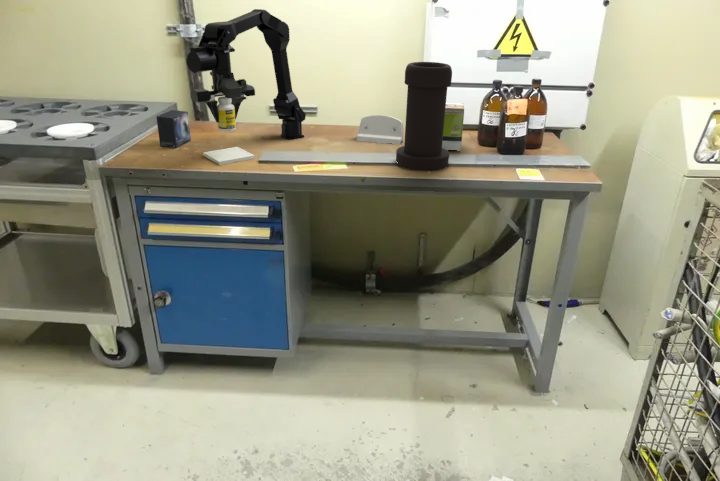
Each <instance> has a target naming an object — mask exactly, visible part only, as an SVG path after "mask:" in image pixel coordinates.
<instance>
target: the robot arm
mask: <svg viewBox="0 0 720 481" xmlns="http://www.w3.org/2000/svg"><path fill="white" fill-rule="evenodd" d="M253 28H257V30H258V31H260V32H261V33H262V35H263V38H264V41H265V43H266V45H267V46H268V47H269V49H270V51H271V55H272V57H271V58H272V62H273V64H272V65H273V68H274V69H273V70H274V76H275V80H276V89H277V95H276V96H275V98H273V100H272V102H273V106H274V107H273V108H274V109H273V110H274V111H275V113H276V114H277V117H278V120H281V123H282V124H281V125H280V126H281V134H280V136H281V137H283V138H285V139H287V140H293V139H300V138H304V137H305V135H304V134H303V132H302V131H303V129H302V127H303V126H302V123H303V122H304V121H305V120H306V116H307V114H306V113H305V112H304V110H303V109H302V107H301V106H300V102H299V98H298V97H297V95H296V93H295V92H294V91H293V87H292V78H291V73H290V65H289V59H288V52H287V47H288V46H289V43H290V27H289V25H288V24H287V22H286V21H282V19H279V18H278V17H277V16H275V15H273V14H271V13H270V12H269V11H267V10H266V9H259V8H258V9H256V8H255V9H252V10H251V11H249V12H247V13H244V14H241V15H238V16H237V17H235V18H232V19H229V20H228V21H216V22H209V23H207V24H205V26H204V31H203V34H202V35H201V38H200V40H199V43H198V45H197V47H196V46H191V47H189V50H190V52H188V54H187V55H186V56H187V58H186V64H187V68H188V69H189V70H190V72H192V73H194V74H197V73H202V72H203V73H204V72H209V76H211V78H212V85H211V90H209V89H206V88H196V89H193V88H192V90H191V91H190V100H193V101H195V102H197V103H202V102H203V103H205V105H206V106H207V107H208V109H209V111H210V112H211V114H212V117H213V118H214V120H215V122H216V123H218V122H219V117H218V110H217V105H218V104H219V102H218V100H216V97H217V98H218V97H223V96H225V97H226V98H231V99H232V102H231V104H233V105H234V108H235V120H236V121H237V118H238V117H237V116H238V113H239V109H240V106H241V104H242V103H243V101H245V100H247V97H254V96H256V90H255V87H254V86H253V85H251V84H248V83H247V80H246V79H245V78H241V79H237V80H236V79H235V75H234V72H232V67H231V66H232V65H231V63H232V62H231V53H234V52H235V51H236V49H235V48H234V47H232V46H231V43H233V41H235V40H236V39H237V37H238V35H241V34H243V33H245V32H246V31H249V30H251V29H253Z"/></svg>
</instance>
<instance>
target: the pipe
mask: <svg viewBox="0 0 720 481" xmlns="http://www.w3.org/2000/svg"><path fill="white" fill-rule="evenodd" d="M452 79H453V69H452V67H451V65H450V64H448V63H443V62H437V61H432V62H431V61H415V62H414V61H413V62H409V63H408V64H407V65H406V67H405V70H404V85H406V86H407V92H406V93H407V94H406V111H405V112H406V113H405V126H404V145H402V146H400V147H398V148H397V149H396V152H395V154H396V156H395V162H396V161H397V162H398V165H397V166H399V167H400V168H403V169H406V170H410V171H418V172H434V171H441V170H443V169H446V168H448V167H449V159H450V158H449V157H450V152H449V151H448V150H446V149H443V148H442V141H443V130H444V119H445V108H446V103H447V95H448V94H447V93H448V88H449V87H451V86H452V81H453V80H452Z"/></svg>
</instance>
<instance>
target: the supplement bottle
mask: <svg viewBox="0 0 720 481" xmlns="http://www.w3.org/2000/svg"><path fill="white" fill-rule="evenodd" d="M217 101H218V103H217V110H218V117H219V122H217V128H218V130H219V131H222V132H231V131H235V130H236V129H237V124H236V123H237V119H236V120H235V108H234V105H233V104H231V102H232V99H231V98H226V97H225V96H217Z"/></svg>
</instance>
